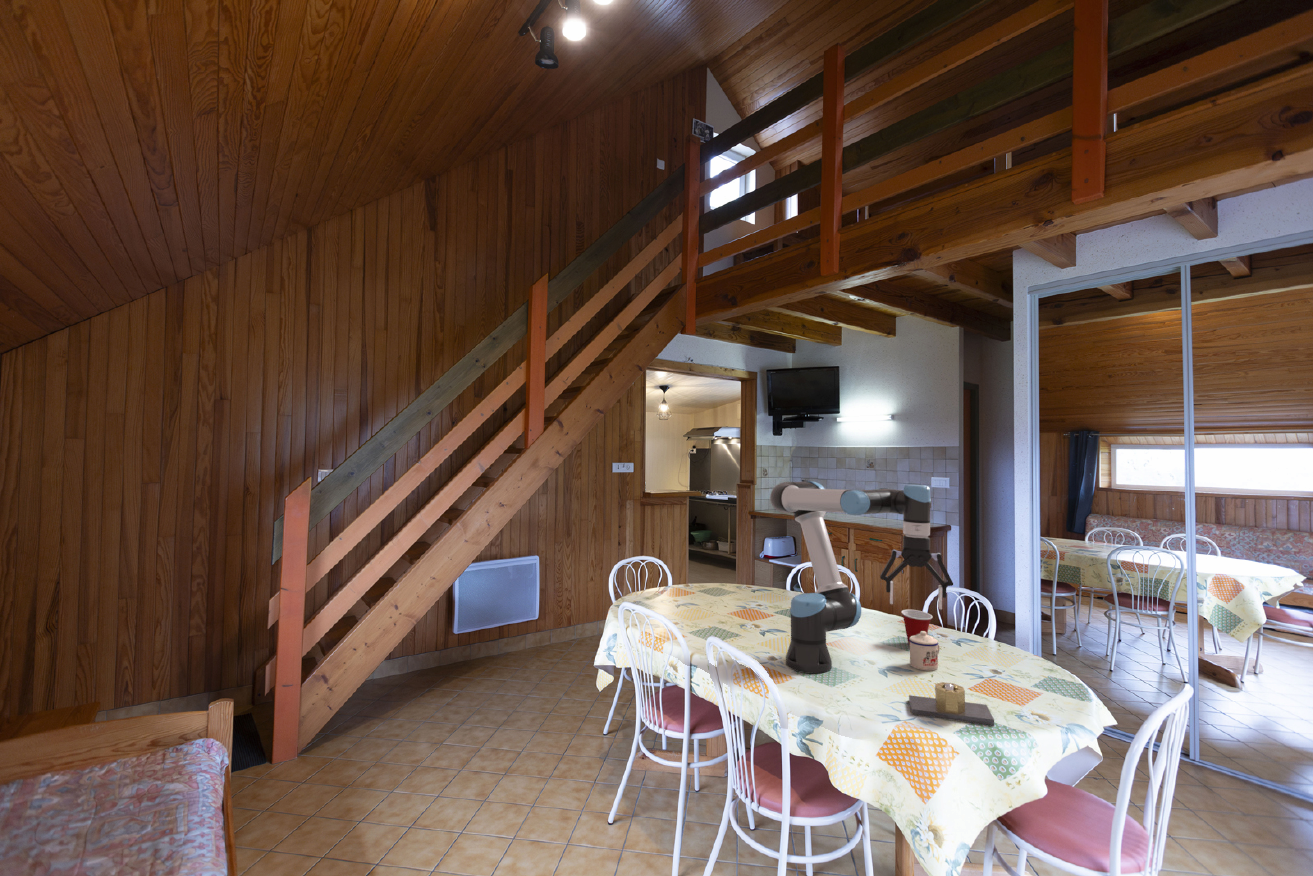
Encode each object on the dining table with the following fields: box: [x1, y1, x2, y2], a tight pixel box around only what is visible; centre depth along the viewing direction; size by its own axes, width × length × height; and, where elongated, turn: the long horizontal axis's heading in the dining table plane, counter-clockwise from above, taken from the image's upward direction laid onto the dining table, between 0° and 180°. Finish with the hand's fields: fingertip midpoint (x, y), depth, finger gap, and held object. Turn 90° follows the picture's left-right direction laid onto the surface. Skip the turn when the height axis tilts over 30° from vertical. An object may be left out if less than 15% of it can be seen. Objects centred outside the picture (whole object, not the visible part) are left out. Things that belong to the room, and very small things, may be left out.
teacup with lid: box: [909, 631, 940, 672], centre depth 200 cm, size 12×9×12 cm
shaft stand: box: [908, 682, 995, 726], centre depth 164 cm, size 20×10×8 cm, turn 71°
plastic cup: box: [901, 609, 934, 646], centre depth 222 cm, size 11×11×12 cm
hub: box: [934, 681, 966, 713], centre depth 163 cm, size 7×7×6 cm
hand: (915, 605), depth 179 cm, fingers open, 13 cm apart
